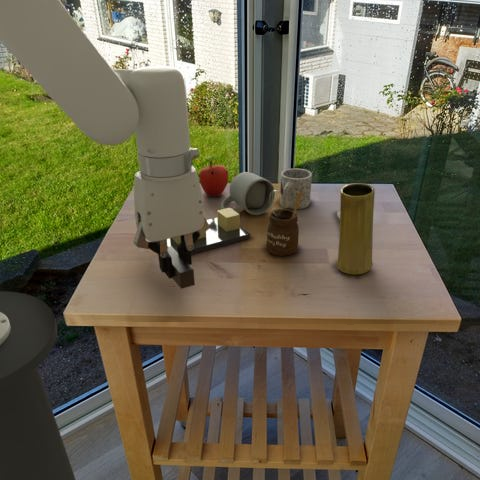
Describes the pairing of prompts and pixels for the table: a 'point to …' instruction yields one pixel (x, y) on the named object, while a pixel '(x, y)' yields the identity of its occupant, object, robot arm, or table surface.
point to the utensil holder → (283, 229)
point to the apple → (213, 178)
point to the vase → (356, 228)
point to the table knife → (181, 270)
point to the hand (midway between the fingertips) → (176, 271)
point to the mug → (295, 187)
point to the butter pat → (228, 219)
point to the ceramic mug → (250, 194)
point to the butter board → (214, 237)
